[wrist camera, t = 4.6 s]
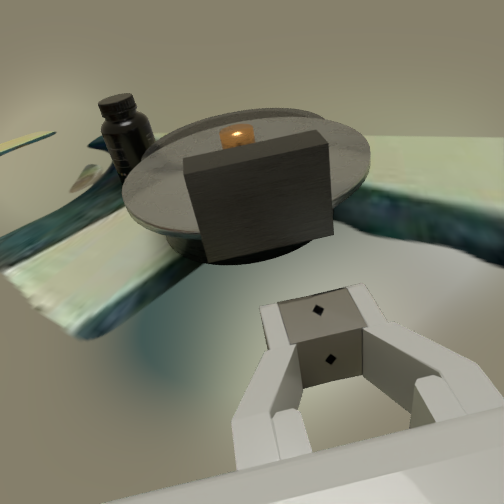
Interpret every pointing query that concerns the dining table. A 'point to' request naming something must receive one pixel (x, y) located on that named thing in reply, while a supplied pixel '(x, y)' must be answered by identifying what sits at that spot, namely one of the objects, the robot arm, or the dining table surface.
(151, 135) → the supplement bottle
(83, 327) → the dining table surface
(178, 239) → the cooker pot
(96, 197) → the dining table surface
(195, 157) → the cooker lid
